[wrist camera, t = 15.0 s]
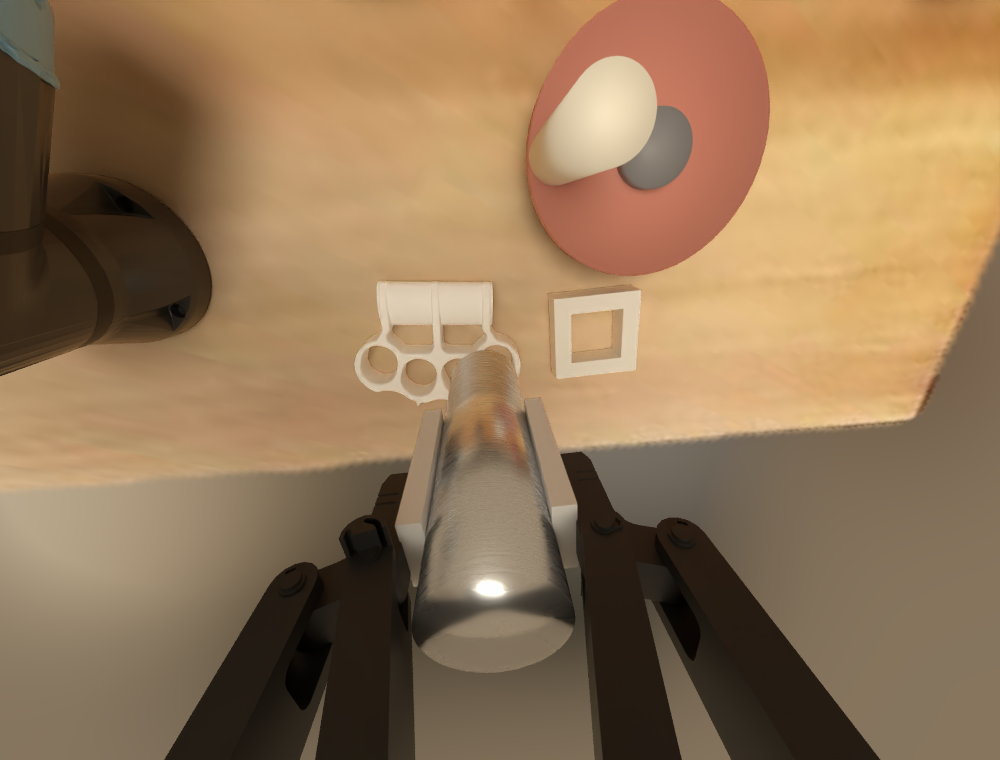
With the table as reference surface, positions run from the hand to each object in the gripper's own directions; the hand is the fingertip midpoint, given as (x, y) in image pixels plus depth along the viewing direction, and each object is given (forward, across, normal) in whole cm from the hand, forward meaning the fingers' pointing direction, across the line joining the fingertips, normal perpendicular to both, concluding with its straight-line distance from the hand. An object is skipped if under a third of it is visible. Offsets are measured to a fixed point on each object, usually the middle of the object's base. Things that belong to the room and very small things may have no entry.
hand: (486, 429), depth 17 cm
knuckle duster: (+25, -5, -4) cm, 26 cm away
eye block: (+25, +12, -4) cm, 28 cm away
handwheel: (+19, +14, +12) cm, 26 cm away
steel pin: (+5, 0, 0) cm, 5 cm away
